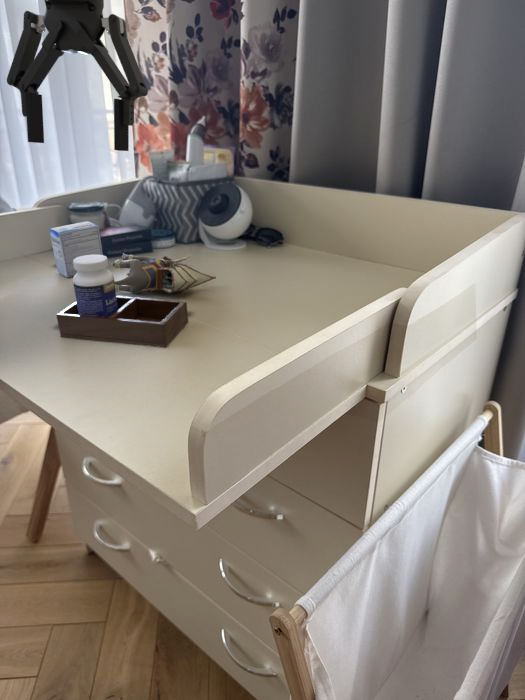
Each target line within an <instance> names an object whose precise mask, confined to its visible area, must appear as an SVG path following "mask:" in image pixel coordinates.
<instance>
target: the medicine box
mask: <svg viewBox="0 0 525 700" xmlns="http://www.w3.org/2000/svg"><path fill="white" fill-rule="evenodd" d="M49 236H50V240H51V241H50V242H51V246H52V251H53V255H54V261H55V265H56V271H57V273H58V274H60V275H62V276H63V277H65V278H72V277H74V276H75V274H77V271H76V270H75V269H74V264H73V260H74V259H75V258H77V257H80V256H85V255H104V254H103V247H102V246H103V245H102V240H101V233H100V227H99V225H97V224H95V223H93V222H91V221H82V222H75V223H71V224H66V225H60V226H56V227H51V228H49Z"/></svg>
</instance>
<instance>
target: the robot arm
mask: <svg viewBox="0 0 525 700" xmlns="http://www.w3.org/2000/svg"><path fill="white" fill-rule="evenodd" d="M44 4H45V12H44V15H42V14H37V13H35V12H33V11H30V10H25V11H24V13H23V21H22V22H23V23H22V24H23V26H22V32H21V35H20V37H19V41H18V44H17V47H16V50H15V53H14V56H13V59H12V62H11V64H10V68H9V70H8V73H7V77H6V83H7V85H9V86H11V87H14V88H16V89H17V90H18V91H19V92H20V101H21V103H20V104H21V114H22V116H23V117H25V118H26V131H27V132H26V133H27V143H36V144H45V131H44V110H43V94H40V92H39V91H38V90H39V88H40V87H41V85H42V84H43V82H44V81H45V79H46V78H47V76H48V74H49V73H50V72H51V70H52V69H53V67H54V66H55V64H56V62H57V61H58V59H59V58H61V57H62V56H64V54H65V53H67V54H78V53H80V54H82V55H91V56H92V58H93V59H94V60H95V61H96V63H97V65H98V66H99V68H100V69H101V70H102V72H103V74H104V76H105V77H106V78H107V80H108V81H109V82H110V84H111V85H112V87H113V88H114V90H115V91H116V93H117V94H118V95H117V97H118V98H113V136H114V137H113V150H114V151H120V152H129V147H130V144H129V143H130V141H129V138H130V137H129V134H130V133H129V131H130V130H129V129H130V128H129V127H131V126H132V127H133V126H134V124H135V101H136V100H137V99H139V98H141V97H146V96H148V94H149V90H148V87H147V85H146V82H145V79H144V77H143V74H142V72H141V69H140V67H139V63H138V62H137V60H136V56H135V54H134V52H133V48H132V47H131V46H132V45H131V43H130V42H129V39H128V34H127V33H128V31H127V22H126V20H125V19H124V18H123V17H120V16H118V15H116V14H114V13H111V14H109V15H108V17H104V14H103V10H104V7H105V6H104V5H105V1H104V0H44ZM46 31H47V34H46V35H45V36H44V37H45V38H44V39H43V40H42V36H43V33H44V32H46ZM105 31H106V33H107V34H108V35H109V36H110V39H111V42H112V44H113V48H114V49H115V52H116V55H117V56H118V60H119V62H120V64H121V68H122V70H123V73H124V75H125V76H124V75H123V73H122V71H121V70H120V68H119V67H118V66H117V64H116V63H115V61H114V60H113V58H112V57H111V55H110V54H109V53H110V52H109V50H108V48H107V47H106V45H105V44H104V42H103V41H102V40H101V39H102V36H103V35H104V33H105ZM41 40H42V41H41ZM40 44H41V48H40V49H39V46H40ZM38 49H39V51H38ZM125 77H126V78H125Z"/></svg>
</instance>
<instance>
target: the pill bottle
mask: <svg viewBox="0 0 525 700" xmlns="http://www.w3.org/2000/svg"><path fill="white" fill-rule="evenodd" d="M73 264H74V269H75V270H76V271H77V274H75V276H73V278H72V284H73V290H74V296H75V302H77V308H78V314H79V315H86V316H97V317H108V318H109V317H110V316H111V315H112V314H114V313H115V312H116V311H117V310H118V304H117V297H116V296H117V292H116V290H115V283H114V281H115V278H114V274H113V273H112V272H111V271H110V270H109V269H108V267H109V260H108V257H107V256H106V255H104V254H103V255H85V256H80V257H77V258H75V259H74V260H73Z"/></svg>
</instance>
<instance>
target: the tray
mask: <svg viewBox="0 0 525 700" xmlns="http://www.w3.org/2000/svg"><path fill="white" fill-rule="evenodd" d="M116 297H117V304H118V310H117V311H116V312H115V313H114V314H112V315H111V316H110V317H109V318H108V317H97V316H86V315H79V314H78V308H77V302H76V301H74V302H73V303H71V304H70V305H67V307H66V308H63V310H61V311H60V312H58V313H56V315H55V316H56V320H57V325H58V330H59V335H60V338H68V339H69V338H70V339H79V340H90V341H99V342H109V343H118V344H128V345H136V346H137V345H138V346H147V345H150V346H149V347H156V346H160V347H159V348H167V347H168V346H169V345H170V344H171V343H172V341H174V339H175V338H176V337H177V336H178V335H179V334H180V333H181V332H182V331H183V330H184V328H186V326H187V325H188V324H189V316H188V315H189V314H188V303H187V301H186V300H173V299H161V298H149V297H135V296H124V295H116ZM187 323H188V324H187ZM186 324H187V325H186ZM185 325H186V326H185ZM170 342H171V343H170ZM169 343H170V344H169ZM168 344H169V345H168ZM167 345H168V346H167Z"/></svg>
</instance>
